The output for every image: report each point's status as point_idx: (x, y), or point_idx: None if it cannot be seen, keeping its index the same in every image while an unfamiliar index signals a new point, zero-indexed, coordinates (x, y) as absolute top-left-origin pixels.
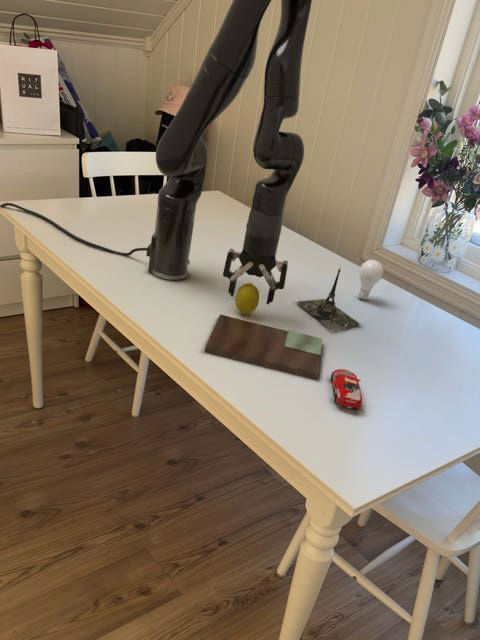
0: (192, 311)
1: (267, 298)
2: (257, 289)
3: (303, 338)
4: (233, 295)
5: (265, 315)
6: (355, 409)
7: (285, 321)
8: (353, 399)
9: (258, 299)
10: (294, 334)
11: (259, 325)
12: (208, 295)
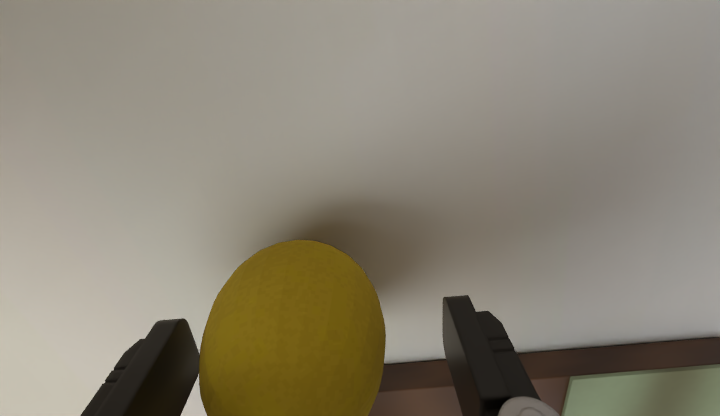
0: (76, 372)
1: (455, 383)
2: (358, 403)
3: (644, 407)
4: (196, 367)
5: (428, 201)
6: None
7: (555, 204)
8: None
9: (383, 364)
10: (602, 399)
11: (422, 401)
12: (3, 150)
